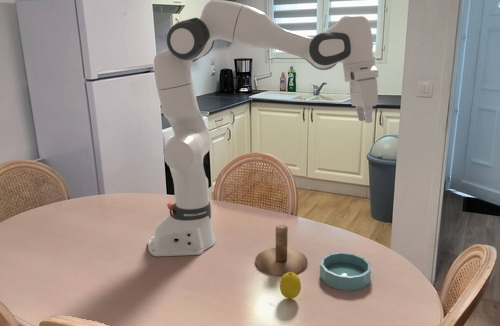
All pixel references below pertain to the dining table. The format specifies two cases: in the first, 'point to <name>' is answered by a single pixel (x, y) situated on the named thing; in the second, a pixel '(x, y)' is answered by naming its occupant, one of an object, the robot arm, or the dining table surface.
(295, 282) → the lemon
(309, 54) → the robot arm
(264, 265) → the lid
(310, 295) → the dining table surface
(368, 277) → the bowl
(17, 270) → the dining table surface
